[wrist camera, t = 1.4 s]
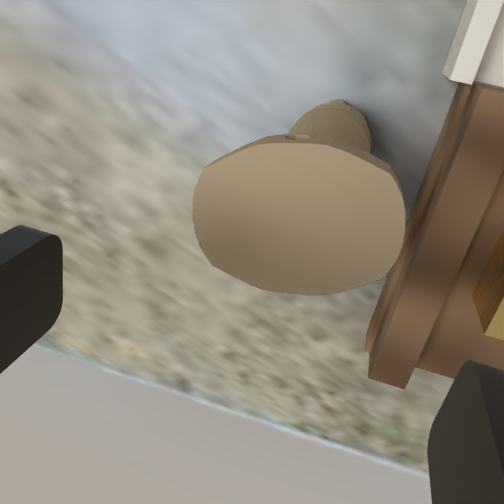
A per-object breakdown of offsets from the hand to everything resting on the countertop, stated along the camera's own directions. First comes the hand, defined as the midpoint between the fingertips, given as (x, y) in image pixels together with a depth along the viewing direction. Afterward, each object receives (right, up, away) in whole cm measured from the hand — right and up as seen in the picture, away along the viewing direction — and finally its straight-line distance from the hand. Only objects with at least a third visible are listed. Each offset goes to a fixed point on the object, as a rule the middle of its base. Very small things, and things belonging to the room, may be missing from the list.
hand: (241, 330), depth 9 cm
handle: (+5, +9, +18) cm, 21 cm away
